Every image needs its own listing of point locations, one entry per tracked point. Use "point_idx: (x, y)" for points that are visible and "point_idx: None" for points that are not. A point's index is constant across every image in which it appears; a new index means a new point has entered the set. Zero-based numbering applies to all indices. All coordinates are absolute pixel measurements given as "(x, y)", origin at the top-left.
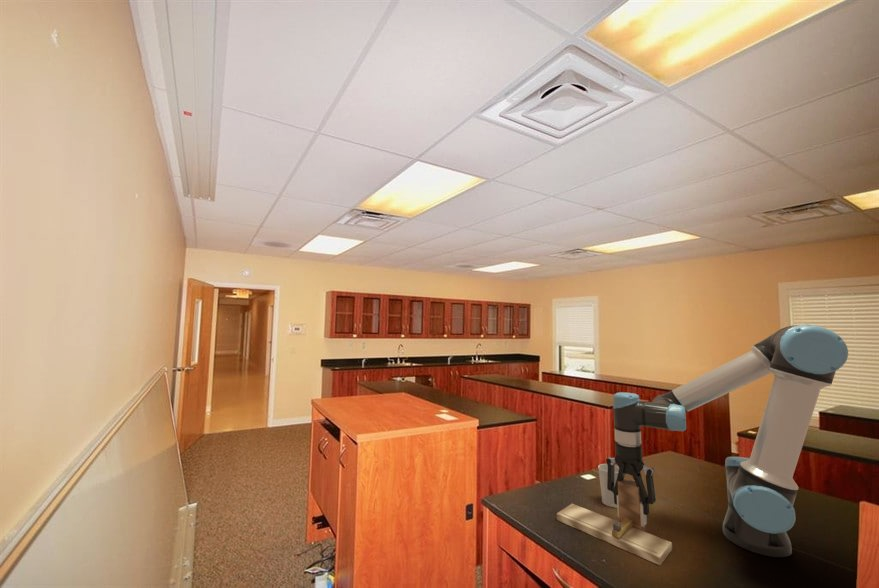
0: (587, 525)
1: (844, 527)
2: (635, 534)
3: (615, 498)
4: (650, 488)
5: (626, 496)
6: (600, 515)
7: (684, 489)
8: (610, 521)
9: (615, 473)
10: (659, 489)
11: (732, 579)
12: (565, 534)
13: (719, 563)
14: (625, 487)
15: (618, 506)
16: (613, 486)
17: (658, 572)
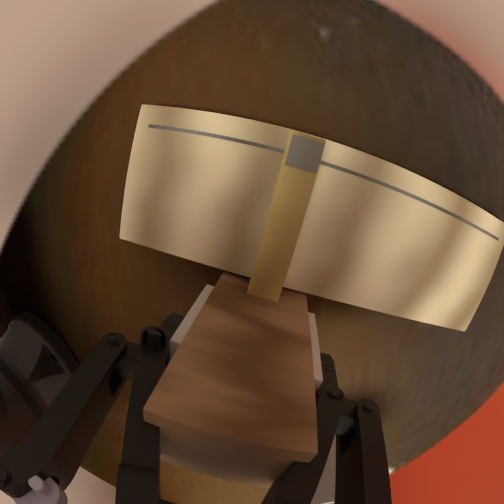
0: (424, 188)
1: None
2: (233, 221)
3: (328, 374)
4: (65, 393)
5: (258, 371)
6: (380, 305)
7: (186, 482)
8: (341, 277)
9: (320, 501)
10: (224, 481)
11: (36, 180)
12: (465, 134)
13: (53, 234)
14: (255, 419)
15: (311, 341)
16: (340, 431)
17: (159, 71)
